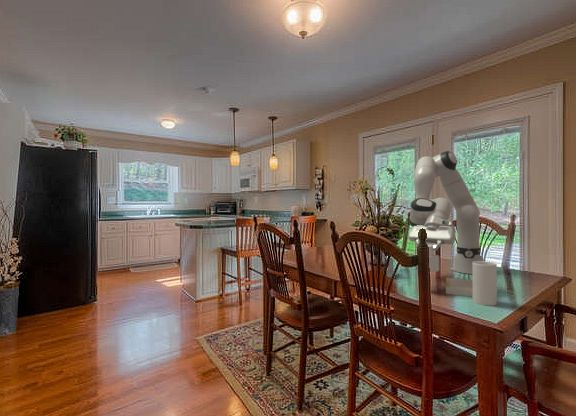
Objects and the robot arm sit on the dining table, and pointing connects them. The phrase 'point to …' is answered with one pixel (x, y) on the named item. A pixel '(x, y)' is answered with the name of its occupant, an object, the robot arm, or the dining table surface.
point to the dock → (459, 287)
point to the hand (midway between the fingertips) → (426, 248)
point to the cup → (485, 283)
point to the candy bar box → (390, 267)
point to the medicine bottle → (433, 259)
